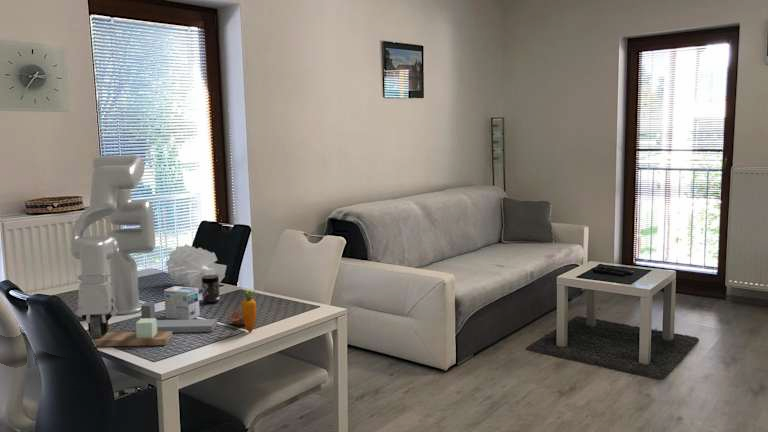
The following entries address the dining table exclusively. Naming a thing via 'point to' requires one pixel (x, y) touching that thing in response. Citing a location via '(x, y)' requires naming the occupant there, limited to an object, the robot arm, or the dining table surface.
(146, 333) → the sage block
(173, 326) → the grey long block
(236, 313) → the fruit slice
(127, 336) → the wooden board with post
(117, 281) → the robot arm
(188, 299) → the light bulb box
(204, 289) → the supplement container
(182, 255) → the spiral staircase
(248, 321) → the carrot
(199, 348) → the dining table surface
